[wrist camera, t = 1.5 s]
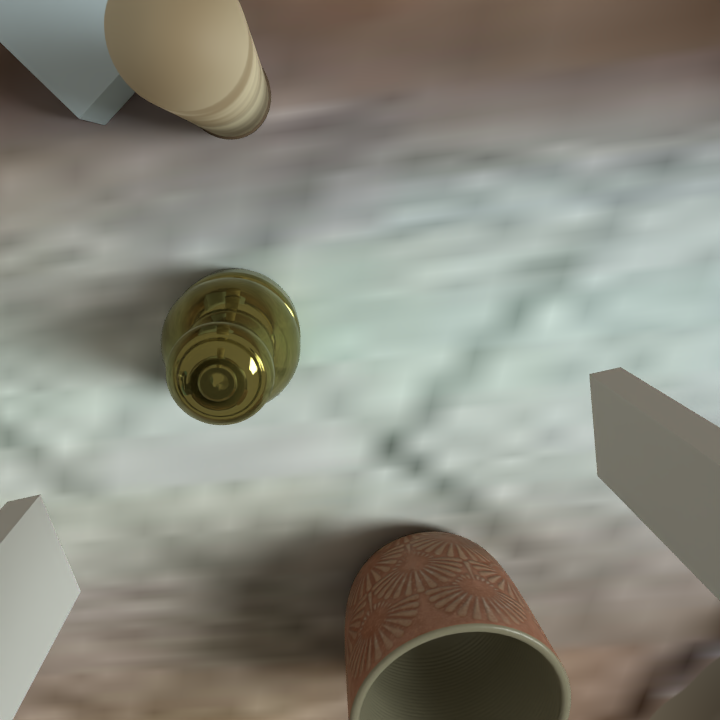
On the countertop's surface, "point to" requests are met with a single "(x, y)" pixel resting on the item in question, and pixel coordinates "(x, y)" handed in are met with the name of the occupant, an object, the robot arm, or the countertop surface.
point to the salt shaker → (230, 346)
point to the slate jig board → (66, 53)
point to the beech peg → (191, 61)
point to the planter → (446, 638)
